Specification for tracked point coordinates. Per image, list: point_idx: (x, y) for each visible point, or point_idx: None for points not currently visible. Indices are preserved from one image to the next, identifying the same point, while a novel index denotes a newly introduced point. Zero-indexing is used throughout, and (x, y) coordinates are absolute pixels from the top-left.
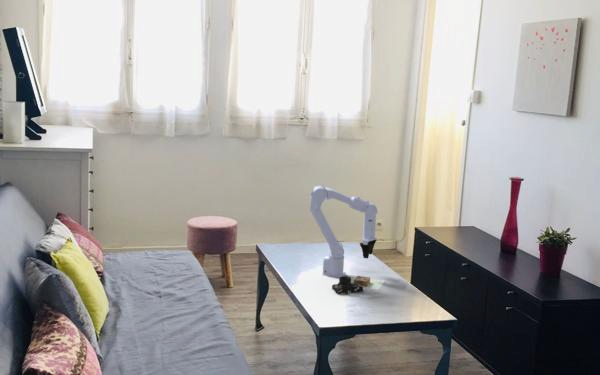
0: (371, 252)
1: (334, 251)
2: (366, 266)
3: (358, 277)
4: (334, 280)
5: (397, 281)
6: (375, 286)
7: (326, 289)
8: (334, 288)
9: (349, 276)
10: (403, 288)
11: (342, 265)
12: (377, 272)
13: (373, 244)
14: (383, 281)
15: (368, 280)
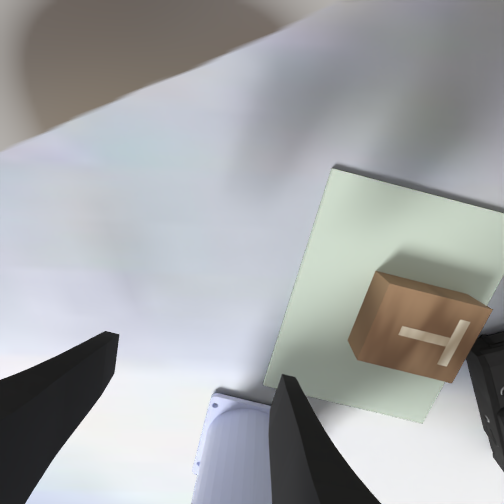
0: (106, 347)
1: None
2: (24, 276)
3: (396, 356)
4: (340, 439)
5: (309, 68)
6: (459, 240)
7: (488, 472)
8: None
9: (274, 377)
10: (481, 25)
11: (266, 471)
12: (130, 211)
13: (10, 422)
14: (347, 180)
15: (440, 294)
